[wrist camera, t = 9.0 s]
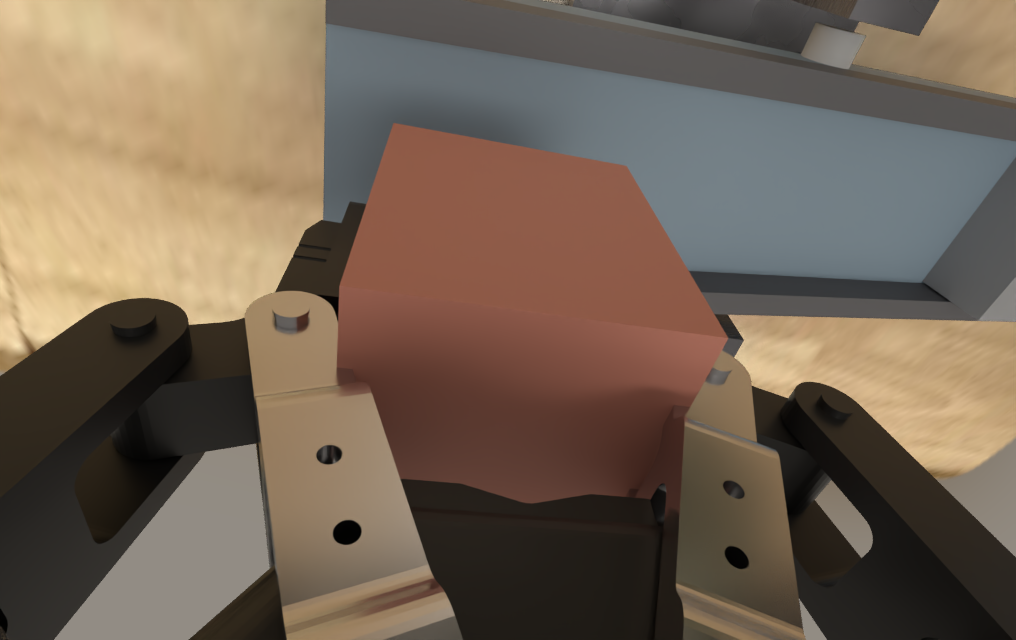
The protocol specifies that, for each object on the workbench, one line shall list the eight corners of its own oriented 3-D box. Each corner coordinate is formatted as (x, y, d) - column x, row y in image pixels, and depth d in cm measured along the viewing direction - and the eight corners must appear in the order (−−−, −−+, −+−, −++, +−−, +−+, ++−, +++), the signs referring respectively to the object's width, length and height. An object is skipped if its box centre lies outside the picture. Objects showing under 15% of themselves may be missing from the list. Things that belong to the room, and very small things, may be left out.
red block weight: (626, 165, 12) (728, 338, 7) (566, 342, 15) (611, 549, 10) (393, 122, 11) (339, 285, 7) (376, 318, 14) (330, 530, 10)
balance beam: (1117, 91, 24) (1250, 130, 21) (948, 301, 30) (1028, 357, 27) (328, -91, 14) (326, -76, 11) (322, 276, 20) (320, 360, 17)
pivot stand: (886, -65, 26) (1160, -39, 16) (724, 262, 37) (826, 405, 26) (603, -144, 24) (709, -174, 14) (515, 229, 34) (537, 373, 24)
